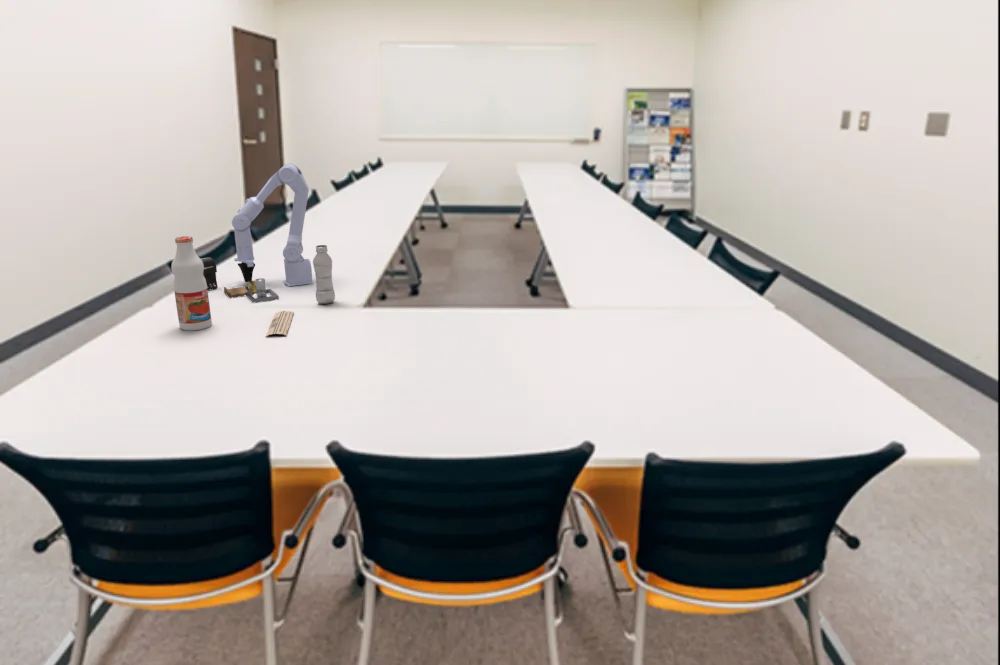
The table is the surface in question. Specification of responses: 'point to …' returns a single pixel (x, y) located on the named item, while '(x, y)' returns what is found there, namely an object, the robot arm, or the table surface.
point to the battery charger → (210, 272)
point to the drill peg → (260, 288)
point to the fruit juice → (190, 287)
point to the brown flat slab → (235, 291)
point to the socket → (274, 296)
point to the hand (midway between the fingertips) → (248, 281)
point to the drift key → (252, 286)
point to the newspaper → (281, 323)
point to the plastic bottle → (323, 276)
